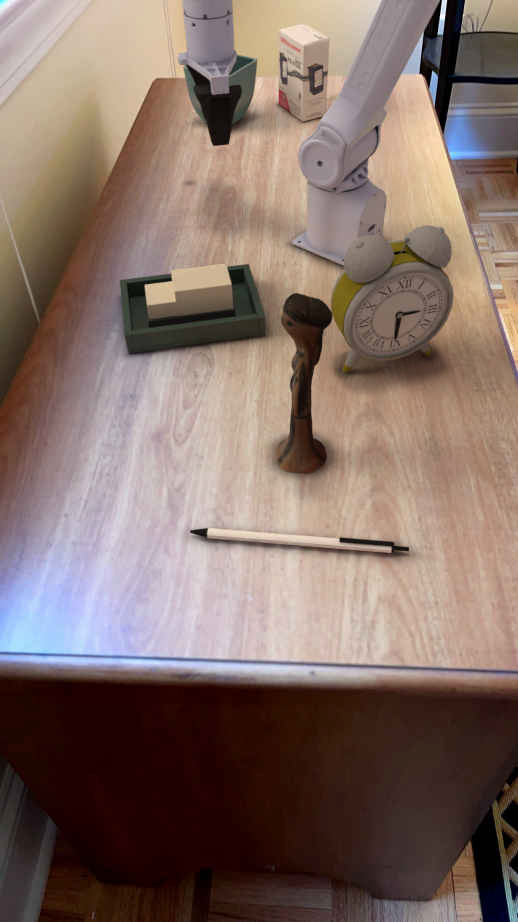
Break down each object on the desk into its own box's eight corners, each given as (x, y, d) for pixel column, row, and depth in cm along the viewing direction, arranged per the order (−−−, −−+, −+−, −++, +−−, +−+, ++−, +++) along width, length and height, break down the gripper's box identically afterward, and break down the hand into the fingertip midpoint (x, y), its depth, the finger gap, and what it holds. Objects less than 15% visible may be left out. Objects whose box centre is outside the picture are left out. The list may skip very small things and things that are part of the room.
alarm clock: (341, 383, 73) (352, 260, 62) (320, 343, 77) (327, 221, 66) (442, 362, 75) (471, 238, 63) (416, 324, 79) (439, 202, 68)
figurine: (279, 422, 69) (278, 268, 56) (328, 425, 69) (340, 271, 55) (272, 479, 65) (270, 325, 51) (326, 482, 64) (338, 328, 51)
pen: (408, 556, 59) (410, 549, 58) (188, 538, 60) (186, 531, 60) (408, 547, 59) (409, 540, 58) (189, 530, 61) (188, 522, 60)
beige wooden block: (229, 295, 83) (227, 262, 79) (235, 318, 80) (233, 284, 76) (146, 306, 82) (140, 272, 78) (149, 329, 79) (143, 296, 75)
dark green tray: (249, 281, 85) (248, 263, 83) (265, 335, 79) (265, 316, 77) (123, 298, 84) (119, 279, 82) (128, 353, 77) (124, 335, 75)
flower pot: (260, 116, 116) (258, 57, 110) (231, 136, 112) (228, 77, 105) (217, 105, 120) (213, 48, 113) (187, 125, 115) (181, 66, 108)
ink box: (276, 104, 119) (276, 27, 110) (301, 98, 121) (303, 21, 112) (301, 122, 114) (304, 43, 105) (327, 116, 116) (331, 37, 107)
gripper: (167, -6, 84) (179, 110, 94) (180, 36, 74) (192, 159, 85) (224, -11, 84) (230, 105, 95) (244, 30, 75) (249, 153, 85)
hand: (216, 131), depth 90 cm, fingers open, 7 cm apart
